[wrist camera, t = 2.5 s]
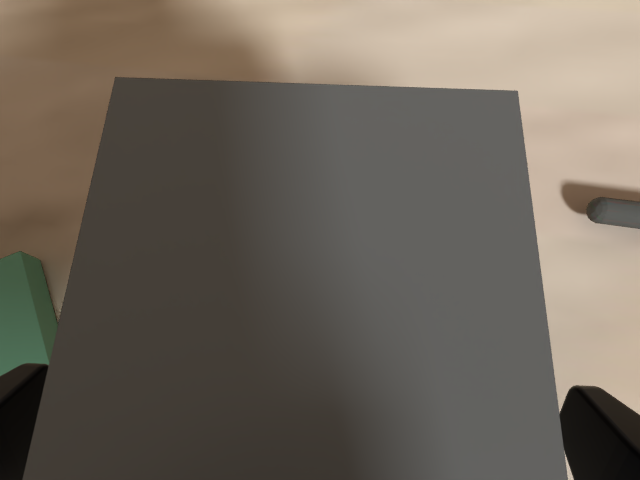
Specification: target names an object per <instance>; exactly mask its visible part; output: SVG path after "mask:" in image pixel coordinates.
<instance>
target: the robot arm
mask: <svg viewBox="0 0 640 480" xmlns="http://www.w3.org/2000/svg"><path fill="white" fill-rule="evenodd" d="M48 367H49V365H47V364H39V363H25V364H21V365H19V366H17V367H16V368H14V369H12V370H10V371H9V372H7V373H5V374H3V375H1V376H0V480H22V479H23V475H24V471H25V466H26V462H27V458H28V453H29V449H30V445H31V440H32V436H33V432H34V427H35V423H36V419H37V414H38V410H39V406H40V401H41V397H42V393H43V388H44V384H45V380H46V375H47V371H48ZM559 415H560V423H561V431H562V439H563V446H564V451H565V454H566V457H567V460H568V463H569V466H570V469H571V472H572V475H573V478H574V480H640V415H639V414H638V413H636V412H635V411H633V410H632V409H630V408H629V407H627V406H626V405H625V404H623V403H622V402H620V401H619V400H617V399H616V398H614V397H613V396H612V395H610V394H609V393H607V392H606V391H604V390H603V389H601V388H599V387H596V386H579V385H576V386H573V387H571V388H570V389H569V391H568V393H567V396H566V399H565V401H564V404H563V406H562V409H561V411H560V414H559Z"/></svg>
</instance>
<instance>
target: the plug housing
mask: <svg viewBox="0 0 640 480" xmlns="http://www.w3.org/2000/svg"><path fill="white" fill-rule="evenodd" d="M22 480H568V477H567V470H566V462H565V454H564V446H563V439H562V431H561V423H560V415H559V408H558V400H557V392H556V384H555V377H554V369H553V361H552V353H551V346H550V338H549V330H548V322H547V314H546V307H545V299H544V291H543V283H542V276H541V268H540V260H539V252H538V245H537V237H536V229H535V221H534V214H533V206H532V198H531V190H530V183H529V175H528V167H527V159H526V152H525V144H524V136H523V128H522V121H521V113H520V105H519V97H518V91H507V90H478V89H448V88H419V87H389V86H360V85H330V84H301V83H271V82H242V81H212V80H183V79H153V78H124V77H115V81H114V85H113V89H112V94H111V98H110V102H109V107H108V111H107V115H106V120H105V124H104V128H103V133H102V137H101V141H100V146H99V150H98V154H97V159H96V163H95V167H94V172H93V176H92V180H91V185H90V189H89V193H88V198H87V202H86V206H85V211H84V215H83V219H82V224H81V228H80V232H79V237H78V241H77V245H76V250H75V254H74V258H73V263H72V267H71V271H70V276H69V280H68V284H67V289H66V293H65V297H64V302H63V306H62V310H61V315H60V319H59V323H58V328H57V332H56V336H55V341H54V345H53V349H52V354H51V358H50V362H49V367H48V371H47V375H46V380H45V384H44V388H43V393H42V397H41V401H40V406H39V410H38V414H37V419H36V423H35V427H34V432H33V436H32V440H31V445H30V449H29V453H28V458H27V462H26V466H25V471H24V475H23V479H22Z"/></svg>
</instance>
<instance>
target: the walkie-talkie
mask: <svg viewBox="0 0 640 480" xmlns="http://www.w3.org/2000/svg"><path fill="white" fill-rule="evenodd" d="M586 210H587V216H588V218H589V219H590V220H591V221H593V222H595V223H600V224H607V225H615V226H623V227H630V228H638V229H640V202H636V201H628V200H620V199H613V198H605V197H599V198H596V199H594V200H592V201H591V202H590V203H589V204H588V206H587V208H586Z"/></svg>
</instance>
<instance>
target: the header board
mask: <svg viewBox="0 0 640 480" xmlns="http://www.w3.org/2000/svg"><path fill="white" fill-rule="evenodd" d="M57 328H58V324H57V320H56V317H55V313H54V309H53V306H52V302H51V298H50V295H49V291H48V287H47V284H46V280H45V276H44V272H43V269H42V265H41V261H40V260H39V259H37V258H34V257H32V256H30V255H28V254H26V253H23V252H21V251H19V252H17V253H14V254H12V255H9V256H7V257H4V258H2V259H0V376H1V375H3V374H5V373H7V372H9V371H10V370H12V369H14V368H16V367H17V366H19V365H21V364H25V363H39V364H47V365H49V362H50V358H51V354H52V349H53V345H54V341H55V336H56V332H57Z"/></svg>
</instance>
